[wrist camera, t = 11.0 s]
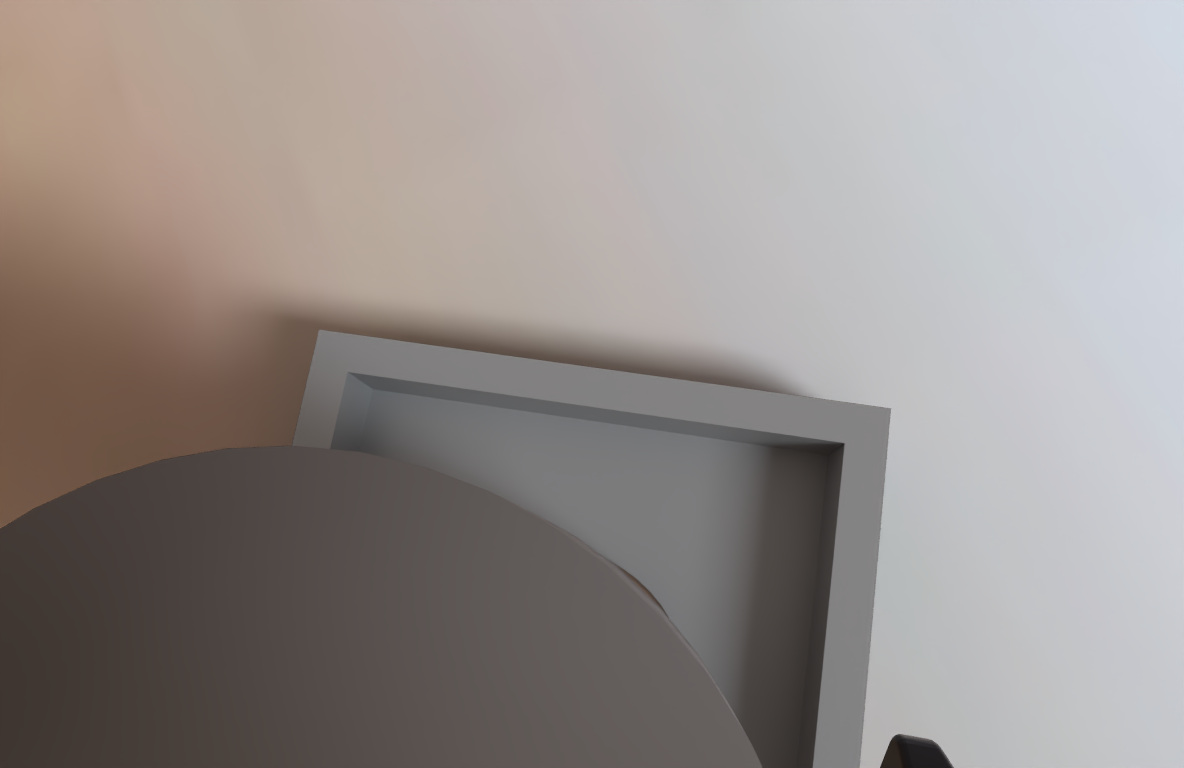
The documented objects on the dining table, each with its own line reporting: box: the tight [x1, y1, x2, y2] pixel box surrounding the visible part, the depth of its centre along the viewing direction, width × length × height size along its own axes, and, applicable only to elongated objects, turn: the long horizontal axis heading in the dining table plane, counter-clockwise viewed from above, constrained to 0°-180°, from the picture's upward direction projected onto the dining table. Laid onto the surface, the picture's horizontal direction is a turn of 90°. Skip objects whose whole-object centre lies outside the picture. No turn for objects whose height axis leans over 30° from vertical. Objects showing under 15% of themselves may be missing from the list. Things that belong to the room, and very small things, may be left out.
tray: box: [292, 330, 891, 768], centre depth 17 cm, size 13×12×2 cm
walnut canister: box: [0, 446, 763, 768], centre depth 11 cm, size 6×6×14 cm
